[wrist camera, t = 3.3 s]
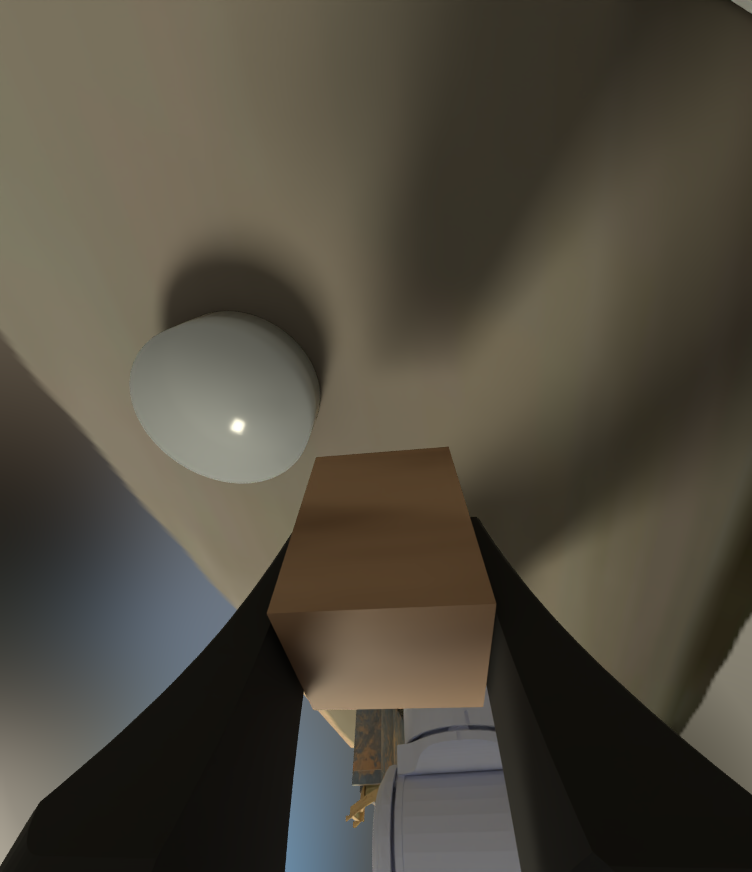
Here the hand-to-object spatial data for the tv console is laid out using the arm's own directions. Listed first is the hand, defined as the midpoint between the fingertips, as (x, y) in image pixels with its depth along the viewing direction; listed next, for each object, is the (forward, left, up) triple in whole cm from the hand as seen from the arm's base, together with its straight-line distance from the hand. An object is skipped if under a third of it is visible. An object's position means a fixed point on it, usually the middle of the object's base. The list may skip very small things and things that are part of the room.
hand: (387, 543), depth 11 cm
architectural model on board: (-37, +4, -9) cm, 38 cm away
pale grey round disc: (+3, +7, -9) cm, 12 cm away
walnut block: (0, 0, -2) cm, 2 cm away
